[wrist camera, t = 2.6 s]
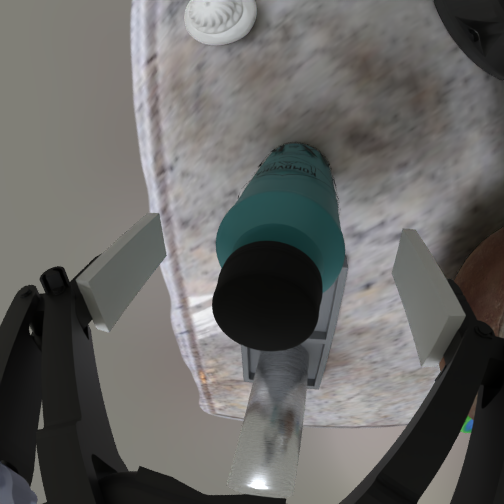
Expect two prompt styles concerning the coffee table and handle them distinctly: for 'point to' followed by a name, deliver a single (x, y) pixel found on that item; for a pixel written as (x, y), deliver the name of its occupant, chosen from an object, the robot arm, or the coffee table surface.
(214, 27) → the white lidded jar
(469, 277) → the jug
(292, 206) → the beverage bottle
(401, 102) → the coffee table surface
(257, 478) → the canister
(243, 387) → the coffee table surface
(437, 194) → the coffee table surface
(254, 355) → the tray
